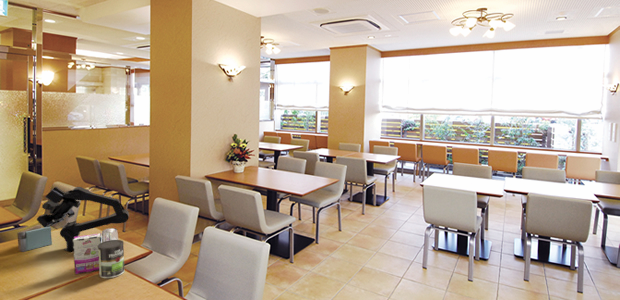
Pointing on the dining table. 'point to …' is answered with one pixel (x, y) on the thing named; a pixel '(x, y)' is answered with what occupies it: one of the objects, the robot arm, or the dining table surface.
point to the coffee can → (111, 258)
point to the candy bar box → (86, 253)
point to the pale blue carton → (22, 235)
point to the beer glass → (109, 234)
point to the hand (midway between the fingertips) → (47, 226)
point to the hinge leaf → (36, 239)
